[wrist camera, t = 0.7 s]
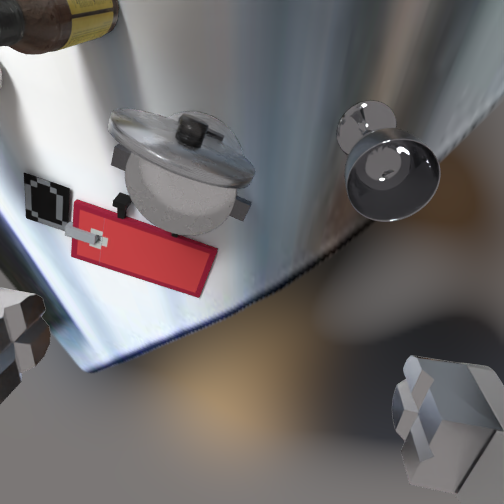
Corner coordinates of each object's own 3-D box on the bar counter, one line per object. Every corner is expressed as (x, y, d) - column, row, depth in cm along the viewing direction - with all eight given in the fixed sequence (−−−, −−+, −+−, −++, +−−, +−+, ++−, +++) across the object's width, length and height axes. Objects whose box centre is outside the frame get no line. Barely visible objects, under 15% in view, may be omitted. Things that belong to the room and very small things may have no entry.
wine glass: (368, 173, 47) (392, 235, 35) (320, 139, 45) (328, 193, 33) (414, 121, 43) (461, 172, 31) (363, 82, 41) (392, 120, 29)
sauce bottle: (61, -39, 37) (-120, -63, 21) (120, -25, 37) (-14, -38, 21) (68, 32, 41) (-79, 58, 25) (122, 44, 41) (10, 78, 25)
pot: (150, 77, 43) (122, 93, 36) (276, 137, 45) (273, 162, 39) (127, 175, 51) (101, 204, 44) (235, 221, 53) (226, 255, 47)
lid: (137, 112, 37) (145, 83, 35) (252, 165, 39) (264, 139, 37) (78, 132, 25) (87, 89, 24) (247, 205, 27) (264, 170, 26)
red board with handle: (27, 158, 51) (30, 237, 60) (15, 166, 49) (20, 246, 58) (225, 228, 55) (200, 292, 64) (222, 238, 53) (197, 303, 62)
